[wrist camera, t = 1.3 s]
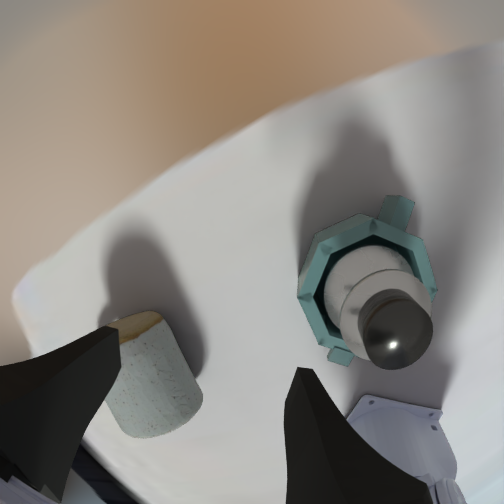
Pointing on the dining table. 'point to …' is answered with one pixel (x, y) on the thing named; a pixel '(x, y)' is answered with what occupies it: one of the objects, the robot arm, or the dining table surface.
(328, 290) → the black and white knob
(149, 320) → the ceramic mug
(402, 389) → the dining table surface
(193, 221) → the dining table surface
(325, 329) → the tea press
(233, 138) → the dining table surface
